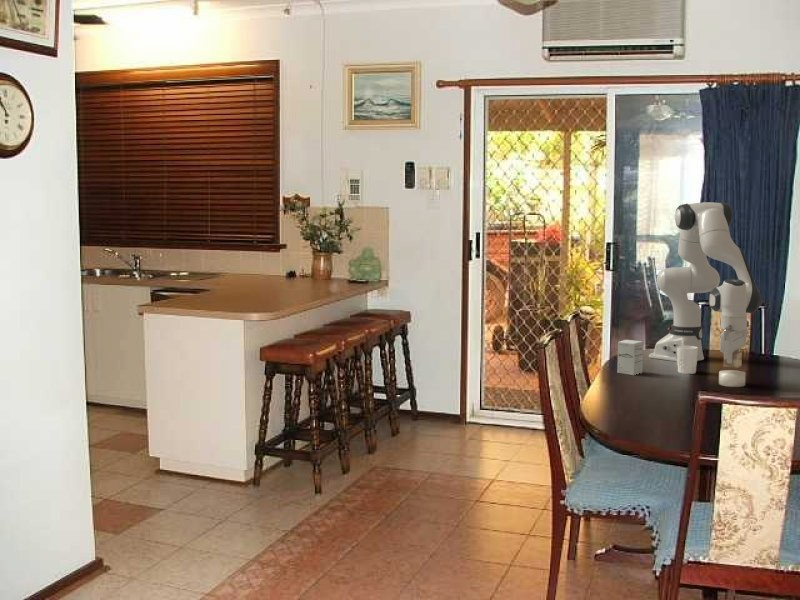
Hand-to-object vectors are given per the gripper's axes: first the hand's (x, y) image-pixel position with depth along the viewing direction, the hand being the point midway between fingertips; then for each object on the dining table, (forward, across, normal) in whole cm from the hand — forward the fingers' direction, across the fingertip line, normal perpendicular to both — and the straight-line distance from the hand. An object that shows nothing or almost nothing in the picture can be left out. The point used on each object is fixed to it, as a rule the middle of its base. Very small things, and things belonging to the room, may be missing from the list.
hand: (732, 361), depth 320 cm
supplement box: (+8, 0, +39) cm, 40 cm away
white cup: (+8, +13, +21) cm, 26 cm away
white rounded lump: (+8, 0, 0) cm, 9 cm away
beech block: (+2, 0, 0) cm, 2 cm away
